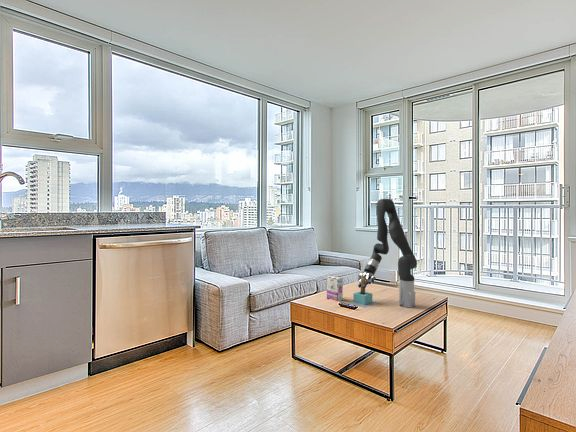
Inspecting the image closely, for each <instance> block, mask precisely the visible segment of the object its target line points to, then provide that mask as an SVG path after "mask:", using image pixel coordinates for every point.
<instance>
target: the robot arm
mask: <svg viewBox="0 0 576 432" xmlns="http://www.w3.org/2000/svg"><path fill="white" fill-rule="evenodd" d="M394 202H395V201H393V199H391V198H380V199H378V200H377V202H376V219H377V233H376V234H377V235H376V236H377V237H376V240H377V241H379V242H381V243H379V242H378V243H376V244H374V245H373V249H372V254H371V257H370V259H368V262H367V263H366V265H365V267H364V269H363V271H362V272H359V273H357V274H358V276H357V281H358V284H357V287H358V288H360V289H361V275H364V276H365V283H364V284H363V286H362V287H363V289H365V290H366V287H367V285H371V284H372V283H373V282H374V281H376V280H377V278H376V276H375V273H376V272H377V271H378V268H379V265H380V263H381V261H382V259H383V258H382V257H383V256H382V255H387V254H388V253H389V252H390V251H389V250H390V246H389V242H388V236H390V238H391V241H392V242H393V243H394V244H395V246H397V247H398V249H399V250H400V252H401V254H402V256H400V257H399V258H398V260H397V270H398V272H397V273H398V278H399V285H398V287H399V289H398V290H399V291H398V292H399V295H398V296H399V299H398V304H399V306H400V307H404V308H409V309H410V308H413V307H415V306H416V291H415V276H414V275H413V274H412V273H411V270H413V269H415V268H416V267H417V266H418V265H417V264H418V262H417V258H416V257H415V255H414V253H413V250H412V248H411V246H410V243H409V242H408V238H407V237H406V234H405V232H404V229H403V226H402V225H401V221H400V219H399V216H398V213H397V209H396V206H395V203H394ZM386 214H387V216H388V221H389V223H388V225H387V223H386V219H385V218H386V217H385V215H386ZM388 234H389V235H388ZM380 254H381V255H380Z"/></svg>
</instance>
